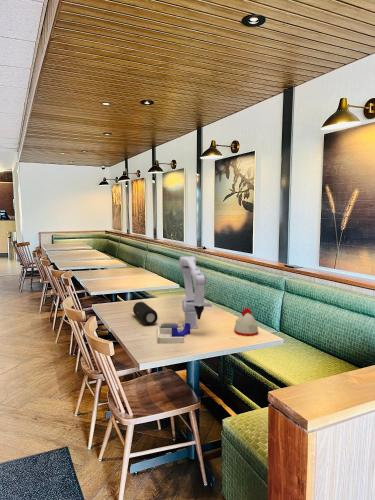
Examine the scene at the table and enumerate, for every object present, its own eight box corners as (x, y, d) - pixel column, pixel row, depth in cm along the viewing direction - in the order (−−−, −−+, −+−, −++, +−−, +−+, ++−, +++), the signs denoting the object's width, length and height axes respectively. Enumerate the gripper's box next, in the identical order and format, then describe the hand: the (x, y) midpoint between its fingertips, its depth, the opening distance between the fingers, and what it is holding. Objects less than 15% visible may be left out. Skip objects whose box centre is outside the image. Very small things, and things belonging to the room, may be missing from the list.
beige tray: (157, 330, 215) (157, 325, 215) (180, 330, 216) (180, 325, 216) (158, 343, 194) (158, 337, 194) (183, 342, 196) (184, 337, 195)
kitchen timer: (229, 331, 216) (230, 306, 215) (245, 327, 224) (246, 303, 223) (246, 338, 205) (246, 312, 203) (262, 333, 213) (263, 308, 212)
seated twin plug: (160, 331, 214) (161, 322, 213) (177, 330, 215) (177, 322, 214) (161, 333, 210) (161, 324, 210) (178, 332, 211) (178, 324, 211)
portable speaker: (132, 315, 244) (132, 301, 243) (146, 314, 248) (146, 300, 247) (143, 327, 221) (143, 311, 220) (158, 325, 225) (159, 309, 224)
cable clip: (176, 339, 201) (177, 329, 200) (171, 337, 204) (171, 327, 204) (192, 334, 209) (192, 324, 209) (186, 332, 213) (186, 322, 212)
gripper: (187, 297, 202) (186, 321, 203) (212, 297, 203) (212, 320, 205) (186, 294, 209) (185, 317, 210) (210, 294, 210) (210, 317, 212)
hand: (198, 318), depth 208 cm, fingers closed
